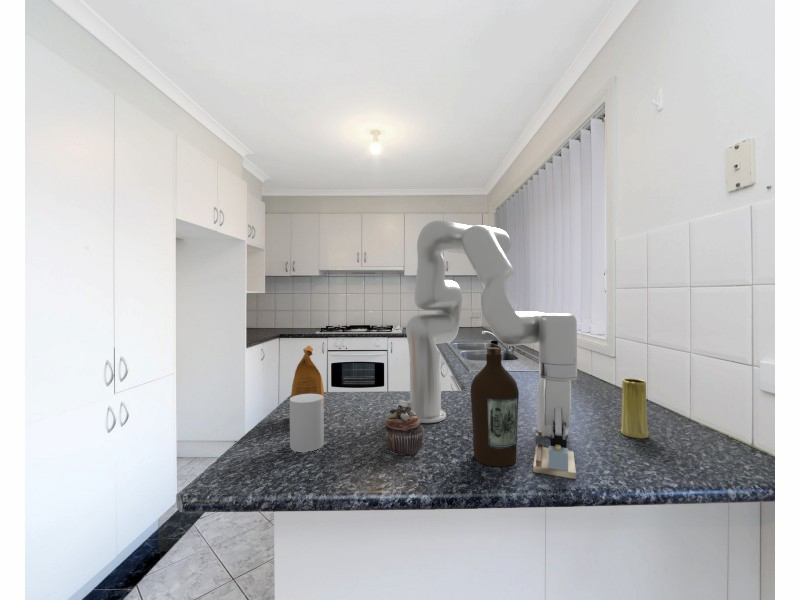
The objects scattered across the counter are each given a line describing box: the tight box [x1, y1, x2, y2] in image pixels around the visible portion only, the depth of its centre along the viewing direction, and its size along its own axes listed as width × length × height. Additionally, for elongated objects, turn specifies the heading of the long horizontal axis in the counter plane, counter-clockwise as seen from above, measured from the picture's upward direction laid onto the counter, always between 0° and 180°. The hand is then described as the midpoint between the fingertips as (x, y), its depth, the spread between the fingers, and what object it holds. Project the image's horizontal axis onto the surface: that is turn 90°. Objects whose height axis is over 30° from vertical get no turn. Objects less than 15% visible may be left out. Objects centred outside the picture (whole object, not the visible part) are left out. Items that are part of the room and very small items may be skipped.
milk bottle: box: [536, 377, 569, 438], centre depth 97 cm, size 8×8×20 cm
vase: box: [620, 378, 649, 439], centre depth 96 cm, size 6×6×14 cm
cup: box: [289, 394, 325, 452], centre depth 90 cm, size 8×8×12 cm
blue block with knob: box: [548, 445, 569, 471], centre depth 74 cm, size 4×3×4 cm
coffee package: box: [290, 345, 325, 408], centre depth 109 cm, size 10×12×22 cm
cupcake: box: [384, 404, 425, 455], centre depth 88 cm, size 10×10×10 cm
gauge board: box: [532, 431, 577, 480], centre depth 79 cm, size 8×11×5 cm
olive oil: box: [470, 346, 520, 468], centre depth 82 cm, size 11×11×25 cm
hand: (558, 455), depth 78 cm, fingers closed
